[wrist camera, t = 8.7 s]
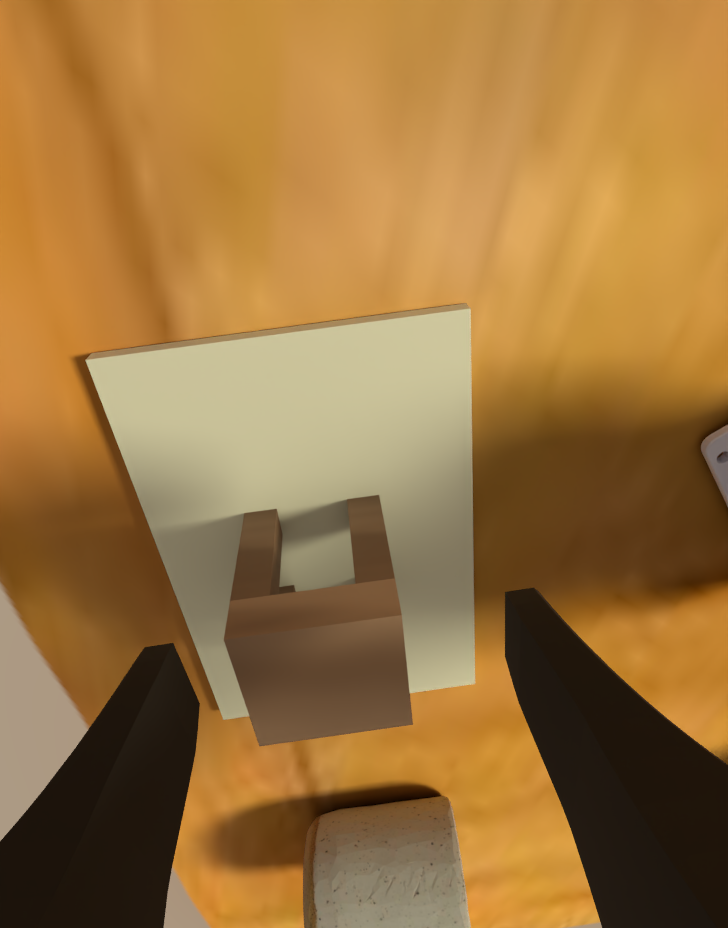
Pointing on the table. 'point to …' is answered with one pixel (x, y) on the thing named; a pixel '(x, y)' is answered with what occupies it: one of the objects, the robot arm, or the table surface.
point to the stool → (318, 637)
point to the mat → (308, 468)
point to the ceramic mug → (385, 868)
